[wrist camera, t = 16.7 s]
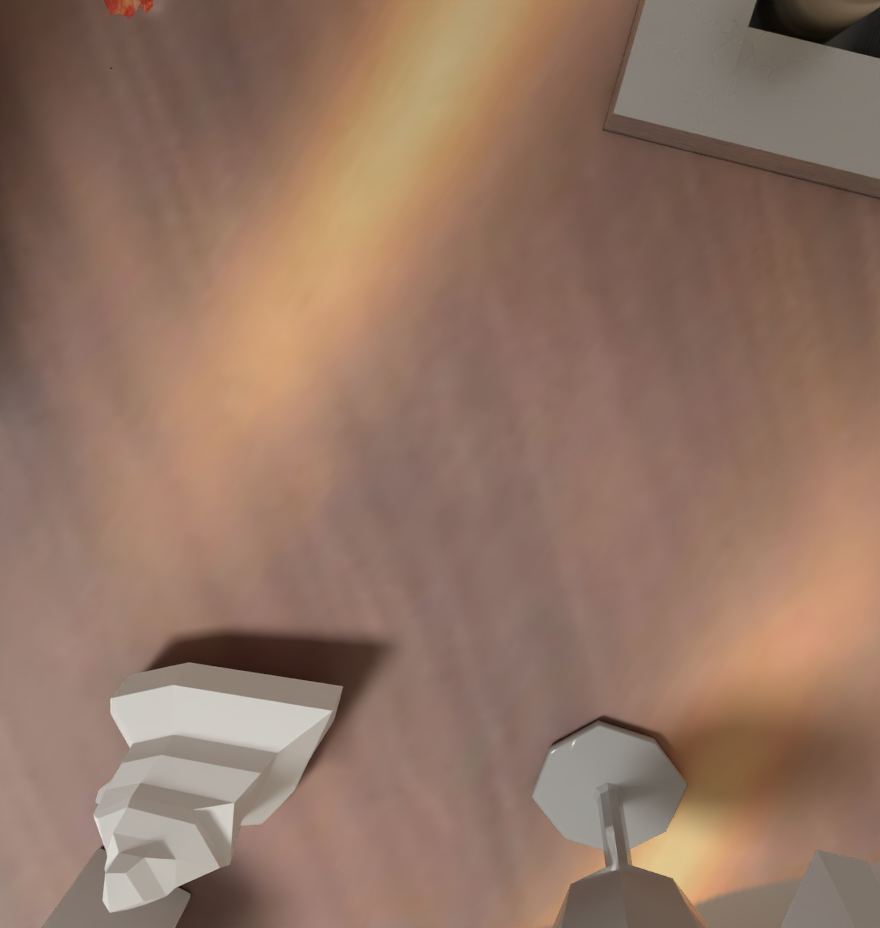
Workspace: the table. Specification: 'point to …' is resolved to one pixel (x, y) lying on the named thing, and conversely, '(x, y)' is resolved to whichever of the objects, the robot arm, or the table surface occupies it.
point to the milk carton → (88, 920)
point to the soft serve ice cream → (200, 770)
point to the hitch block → (753, 92)
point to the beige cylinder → (812, 17)
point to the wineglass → (615, 826)
